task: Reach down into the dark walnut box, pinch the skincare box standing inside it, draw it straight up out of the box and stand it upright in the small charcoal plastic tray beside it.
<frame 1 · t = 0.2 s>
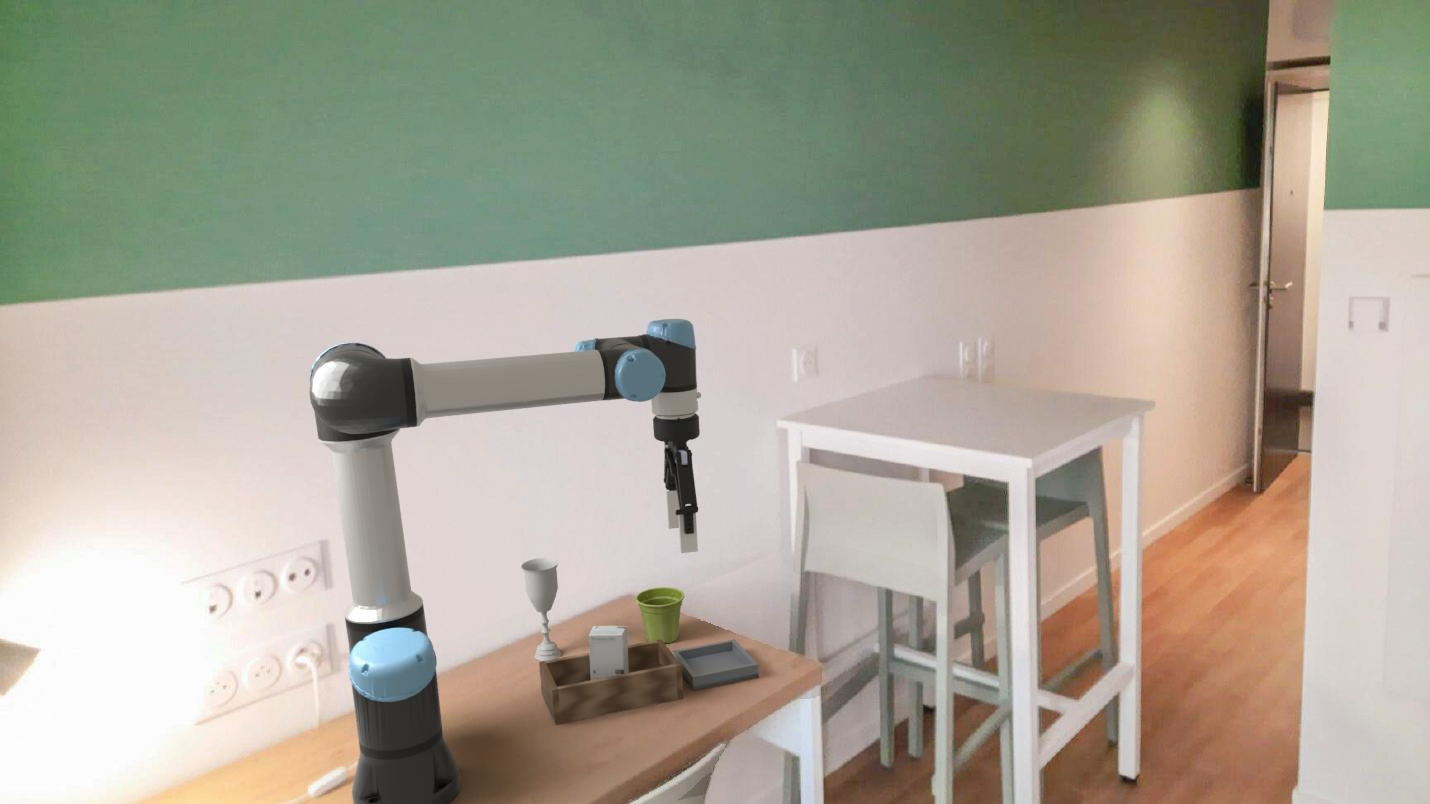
hand: (682, 539, 181), 27 cm above the table, tool pointing down, fingers open, 13 cm apart
plant pot: (662, 639, 209), on the table
chalice: (547, 656, 204), on the table
skincare box: (611, 697, 186), resting in walnut box
charcoal tray: (715, 670, 194), on the table
walnut box: (611, 696, 186), on the table
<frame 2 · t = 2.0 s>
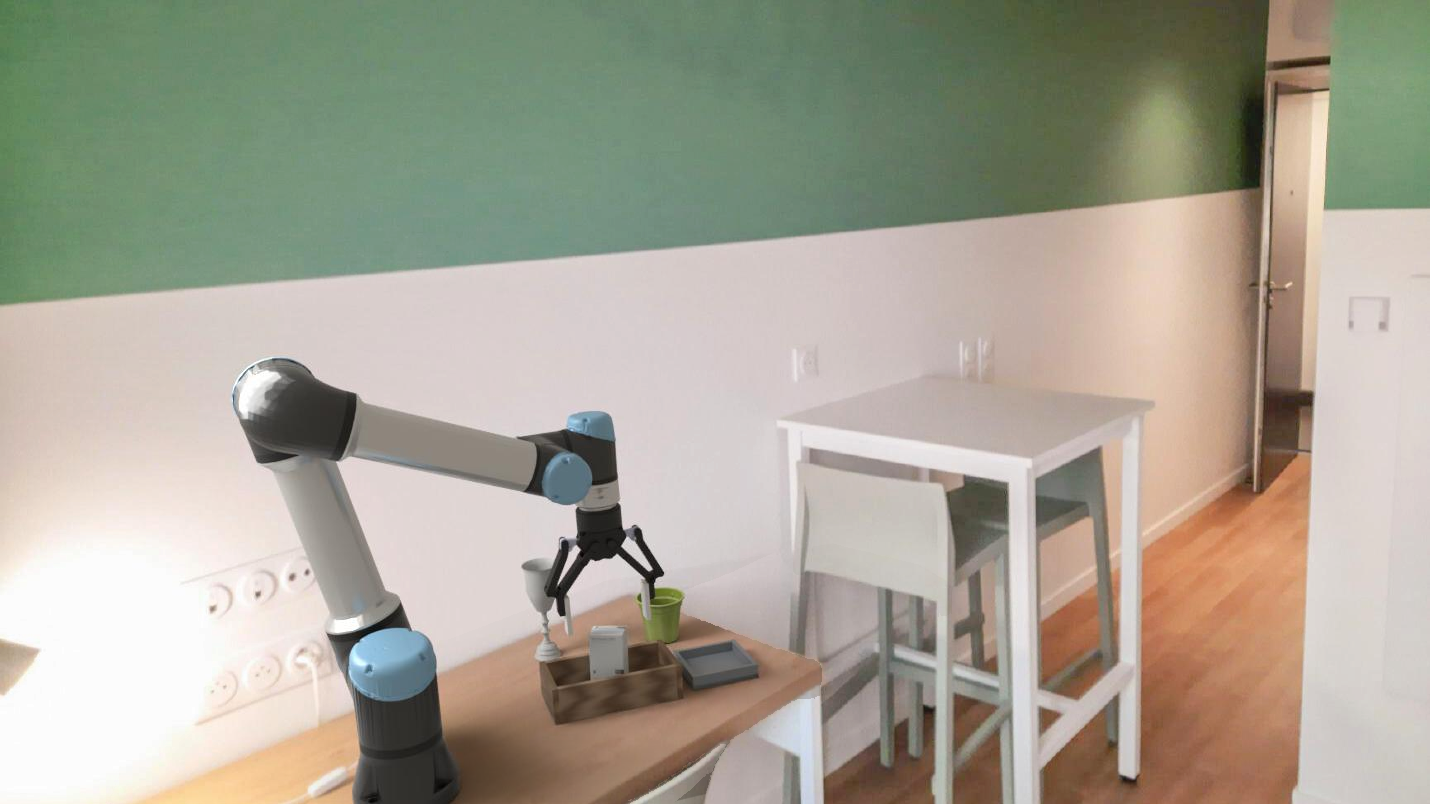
hand: (608, 625, 183), 13 cm above the table, tool pointing down, fingers open, 13 cm apart
nothing on the table moved.
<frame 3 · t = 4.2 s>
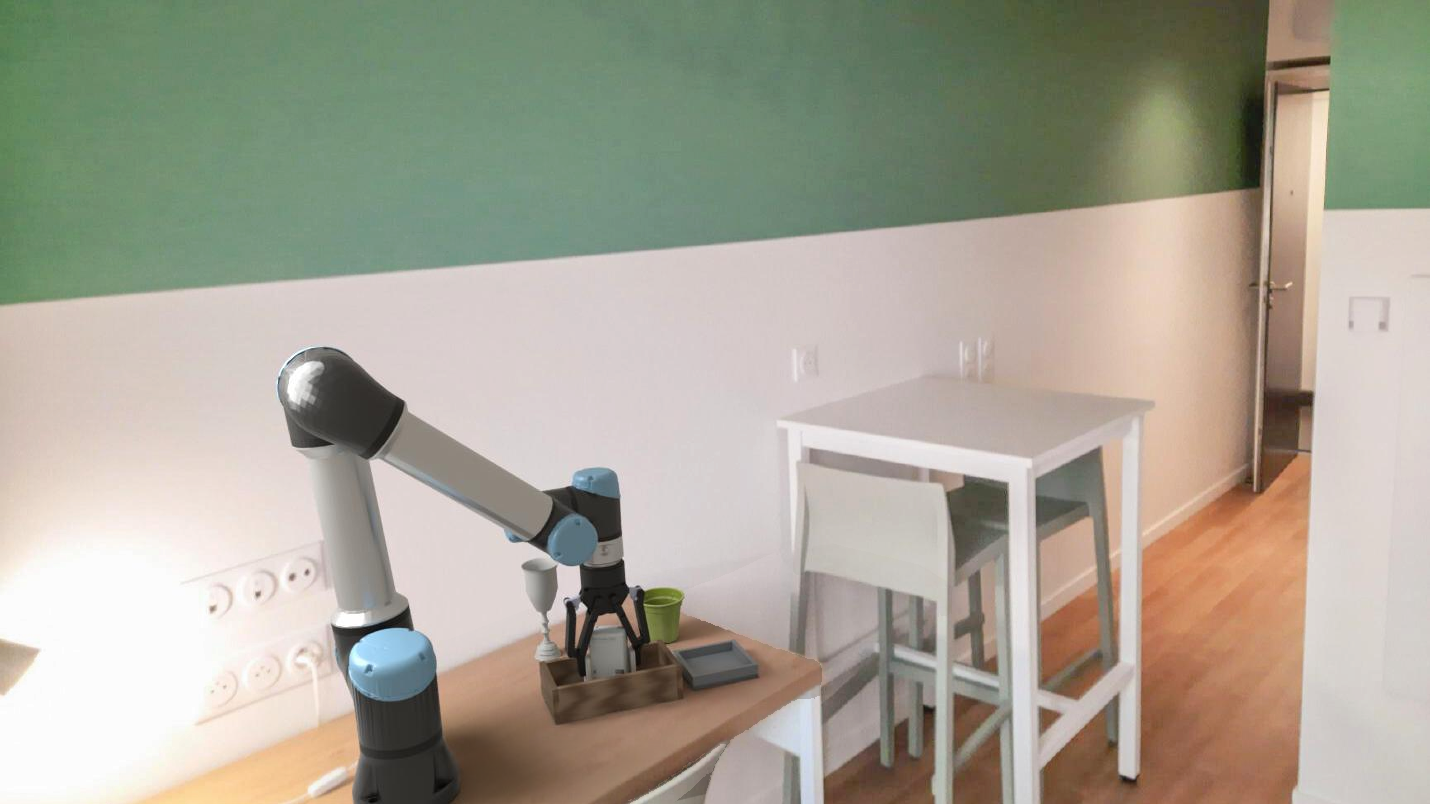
hand: (611, 687, 185), 2 cm above the table, tool pointing down, fingers closed on skincare box, 7 cm apart
skincare box: (612, 697, 186), resting in walnut box, touching gripper
everything else where it was.
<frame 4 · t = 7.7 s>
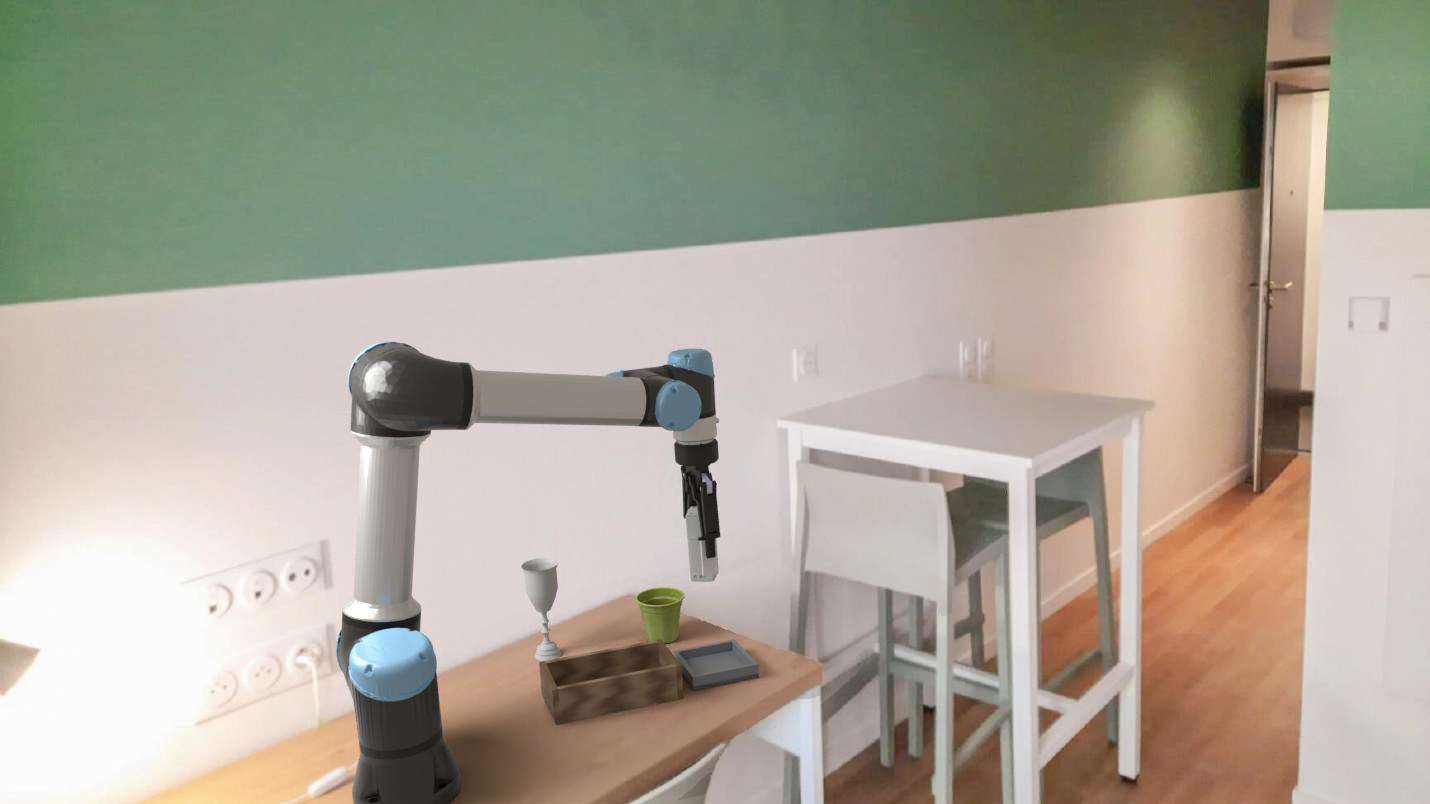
hand: (703, 567, 190), 20 cm above the table, tool pointing down, fingers closed on skincare box, 7 cm apart
skincare box: (704, 576, 190), point 18 cm above the table, touching gripper
everything else where it was.
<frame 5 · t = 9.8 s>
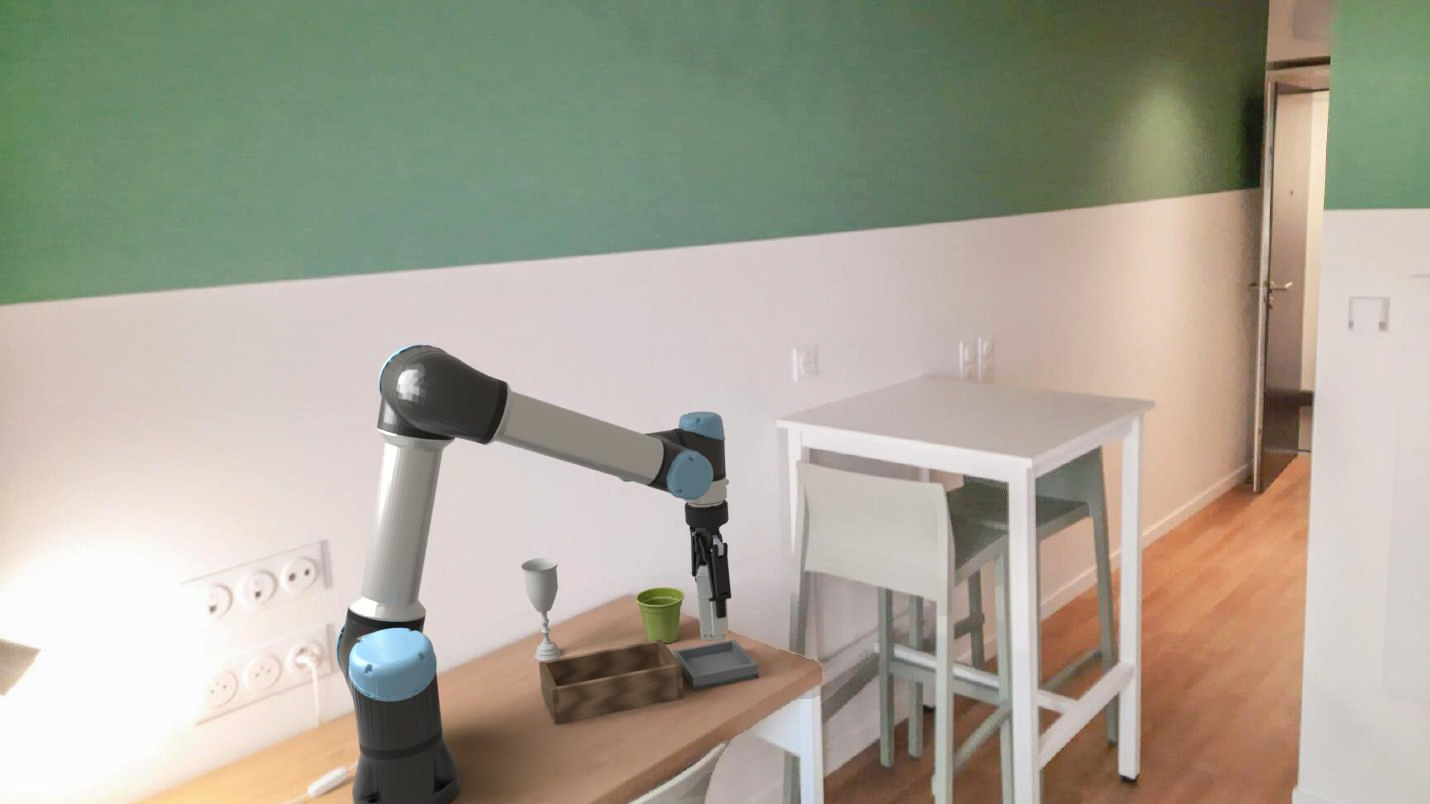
hand: (713, 625, 192), 9 cm above the table, tool pointing down, fingers closed on skincare box, 7 cm apart
skincare box: (713, 634, 193), point 7 cm above the table, touching gripper
everything else where it was.
when the fingers open (4 cm above the table, at t = 11.5 s): skincare box drops 1 cm, resting on charcoal tray.
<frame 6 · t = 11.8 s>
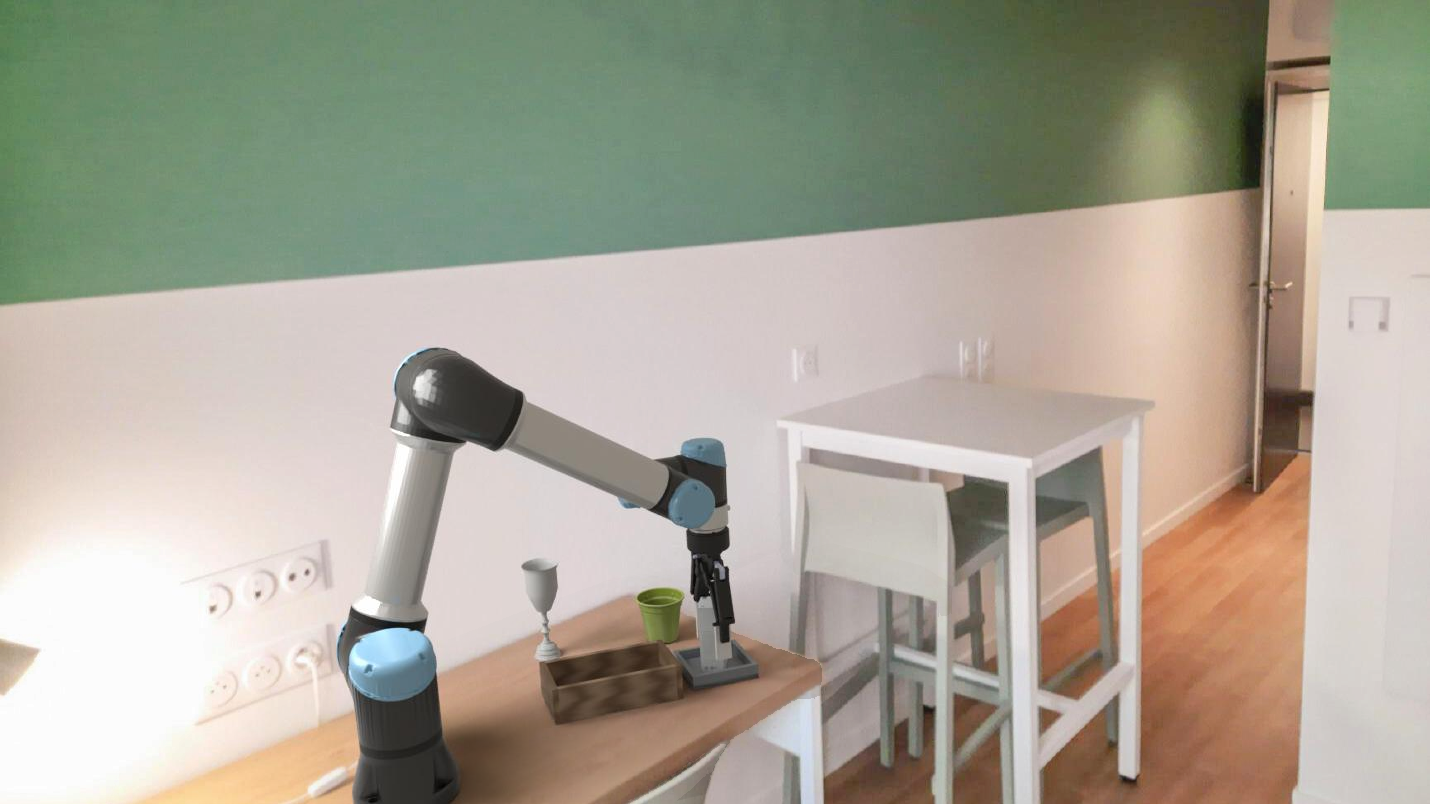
hand: (714, 646, 193), 4 cm above the table, tool pointing down, fingers open, 10 cm apart
skincare box: (714, 666, 194), point 1 cm above the table, touching charcoal tray
everything else where it was.
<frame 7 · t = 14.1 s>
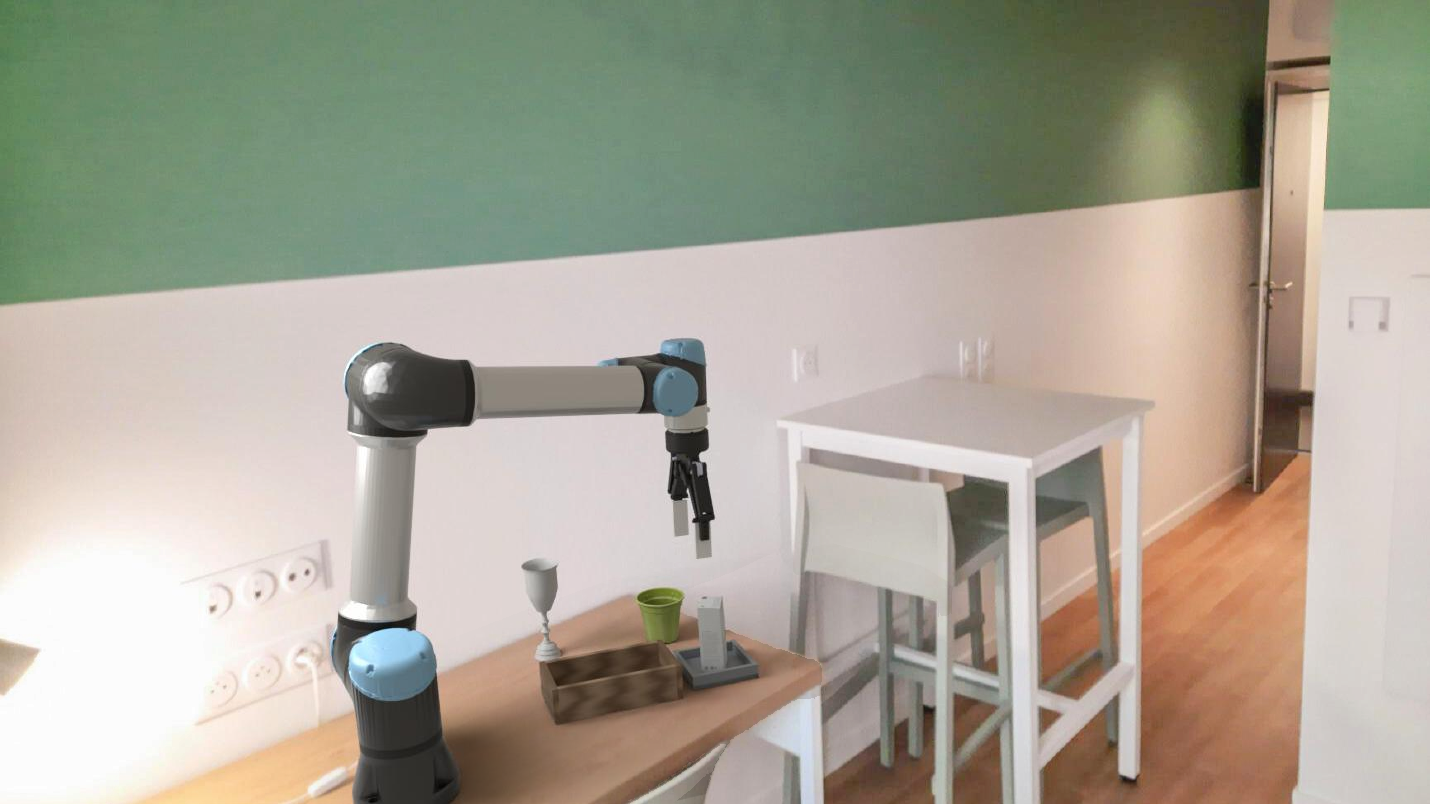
hand: (692, 546, 191), 23 cm above the table, tool pointing down, fingers open, 13 cm apart
nothing on the table moved.
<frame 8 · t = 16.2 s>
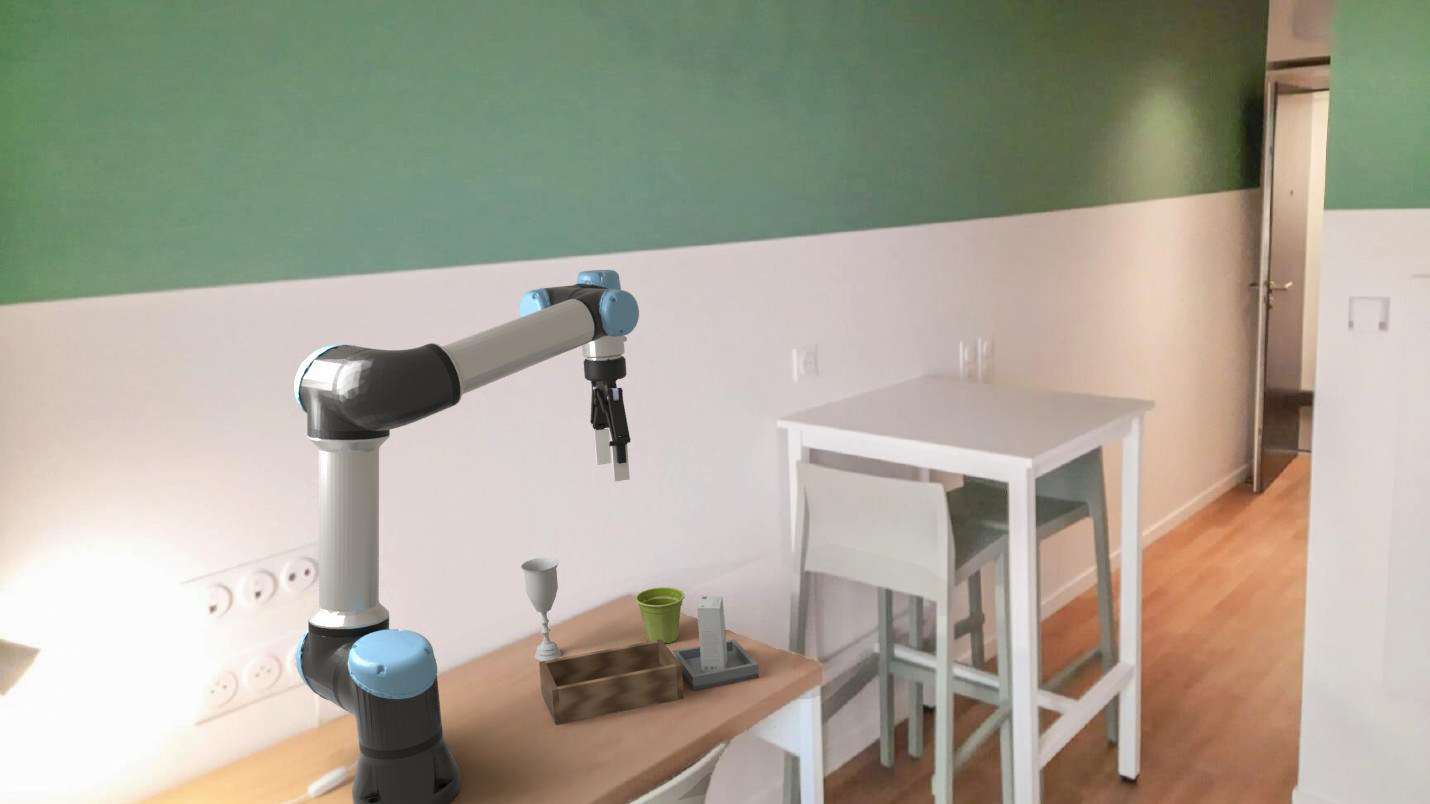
hand: (612, 471, 198), 35 cm above the table, tool pointing down, fingers open, 13 cm apart
nothing on the table moved.
at the end: skincare box 0.3 cm off-centre on the charcoal tray, point 0.6 cm above the charcoal tray's base; skincare box tilted 0°; the gripper is holding nothing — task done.
